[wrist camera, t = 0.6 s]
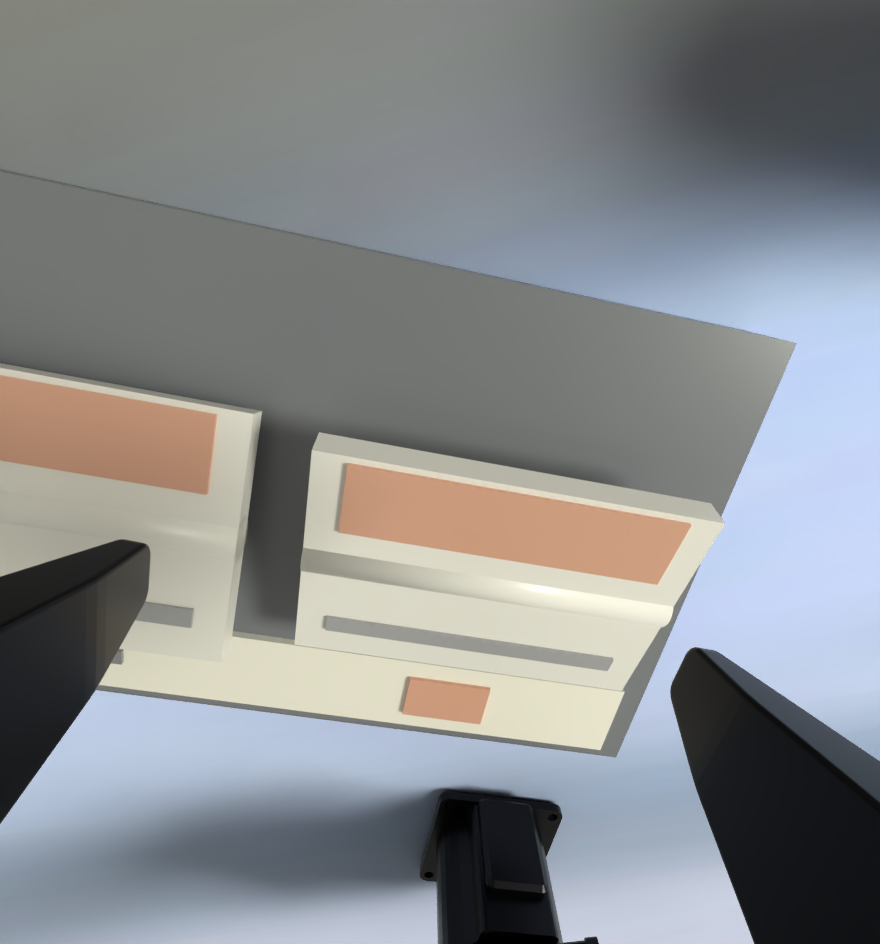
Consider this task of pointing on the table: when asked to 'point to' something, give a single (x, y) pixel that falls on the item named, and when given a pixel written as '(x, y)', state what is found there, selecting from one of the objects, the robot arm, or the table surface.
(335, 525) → the cream slotted panel
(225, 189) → the table surface
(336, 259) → the switch panel
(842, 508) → the table surface
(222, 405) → the rocker
